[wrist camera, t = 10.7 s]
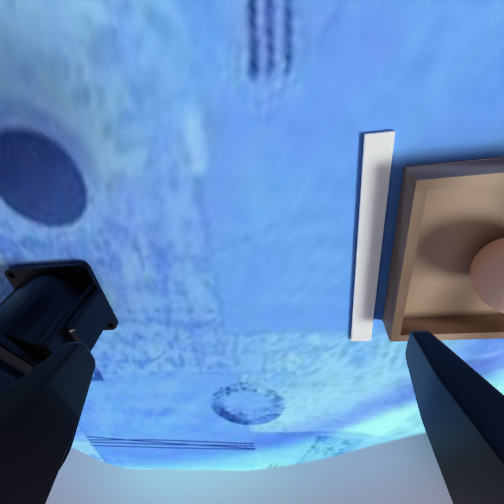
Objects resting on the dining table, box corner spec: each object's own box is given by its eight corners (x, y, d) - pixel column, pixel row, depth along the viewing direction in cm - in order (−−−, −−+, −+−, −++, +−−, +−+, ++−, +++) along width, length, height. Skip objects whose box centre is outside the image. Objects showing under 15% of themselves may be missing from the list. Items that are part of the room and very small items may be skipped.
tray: (382, 320, 24) (390, 341, 23) (404, 166, 18) (416, 180, 16) (559, 313, 23) (580, 335, 21) (655, 142, 16) (697, 155, 15)
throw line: (350, 339, 26) (351, 341, 26) (364, 133, 17) (364, 134, 17) (370, 338, 26) (370, 340, 25) (393, 130, 17) (395, 131, 17)
